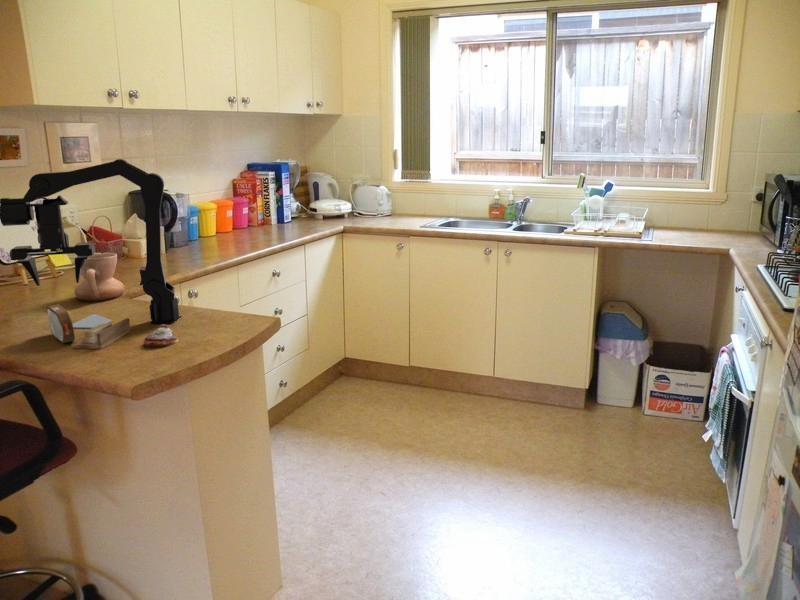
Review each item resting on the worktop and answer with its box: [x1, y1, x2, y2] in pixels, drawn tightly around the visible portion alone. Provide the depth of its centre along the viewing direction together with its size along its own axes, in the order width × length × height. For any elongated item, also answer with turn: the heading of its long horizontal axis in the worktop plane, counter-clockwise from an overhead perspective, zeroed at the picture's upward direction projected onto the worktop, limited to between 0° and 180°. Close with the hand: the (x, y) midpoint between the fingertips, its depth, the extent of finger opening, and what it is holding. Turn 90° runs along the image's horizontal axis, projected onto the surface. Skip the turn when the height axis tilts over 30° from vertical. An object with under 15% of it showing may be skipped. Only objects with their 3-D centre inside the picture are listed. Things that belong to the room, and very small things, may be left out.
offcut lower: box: [81, 336, 97, 343], centre depth 165 cm, size 3×10×1 cm, turn 174°
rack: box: [73, 317, 131, 350], centre depth 165 cm, size 7×14×4 cm, turn 174°
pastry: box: [143, 324, 179, 349], centre depth 160 cm, size 8×8×5 cm
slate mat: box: [72, 313, 113, 330], centre depth 185 cm, size 9×19×1 cm, turn 174°
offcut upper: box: [84, 322, 113, 337], centre depth 164 cm, size 3×8×1 cm, turn 174°
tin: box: [46, 303, 75, 344], centre depth 165 cm, size 15×3×8 cm, turn 40°
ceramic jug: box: [73, 252, 125, 302], centre depth 206 cm, size 18×14×14 cm
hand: (58, 284), depth 169 cm, fingers open, 9 cm apart
